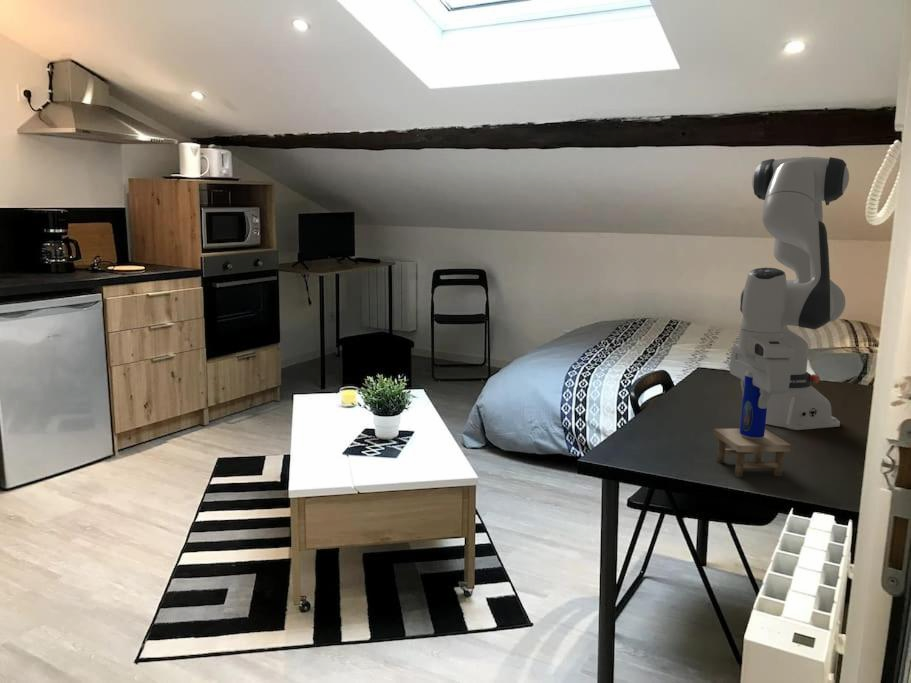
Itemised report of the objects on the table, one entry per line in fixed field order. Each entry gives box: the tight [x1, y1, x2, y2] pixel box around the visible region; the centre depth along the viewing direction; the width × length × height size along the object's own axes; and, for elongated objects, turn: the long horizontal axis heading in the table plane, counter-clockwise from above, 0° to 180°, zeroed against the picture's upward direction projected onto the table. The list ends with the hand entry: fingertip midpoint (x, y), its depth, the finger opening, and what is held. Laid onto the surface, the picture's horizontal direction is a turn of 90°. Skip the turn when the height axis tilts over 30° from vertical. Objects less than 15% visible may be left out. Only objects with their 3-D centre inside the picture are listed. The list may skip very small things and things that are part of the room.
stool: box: [713, 427, 792, 478], centre depth 167 cm, size 12×12×8 cm
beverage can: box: [739, 371, 767, 440], centre depth 165 cm, size 5×5×15 cm
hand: (754, 403), depth 165 cm, fingers closed on beverage can, 5 cm apart
